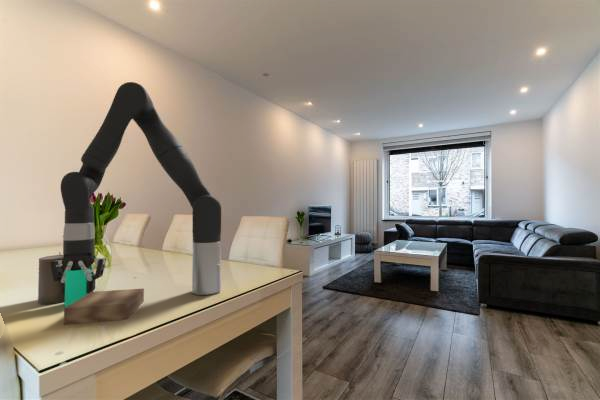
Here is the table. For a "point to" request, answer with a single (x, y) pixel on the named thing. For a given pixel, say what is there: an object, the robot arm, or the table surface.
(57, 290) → the pillar candle
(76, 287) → the teal green tall block
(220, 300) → the table surface
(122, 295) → the walnut stand
